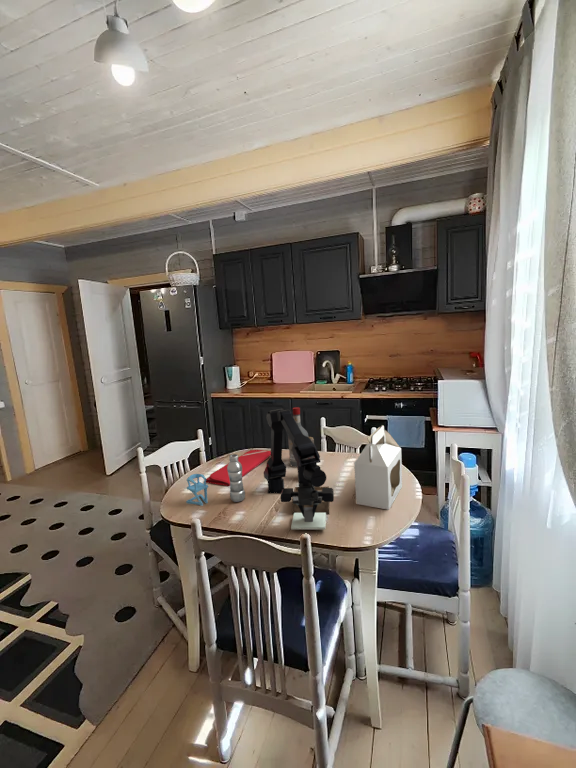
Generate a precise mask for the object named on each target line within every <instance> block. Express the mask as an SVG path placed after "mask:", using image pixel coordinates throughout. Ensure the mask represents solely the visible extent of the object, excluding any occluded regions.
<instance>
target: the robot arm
mask: <svg viewBox="0 0 576 768" xmlns="http://www.w3.org/2000/svg"><path fill="white" fill-rule="evenodd" d="M265 418H266V421H267V424H268V426H269V427H270V428H271V429H270V430H271V431H270V451H271V455H270V456H269V457H268V459H267V460H266V465H265V468H264V471H263V477H264V479H265V480H266V481H267V488H268V489H267V494H280V502H281V503H290V502H292V497H293V503H294V504H297V505H298V507H299V508H300V510H301V512H302V515H303V517H304V505H309V506H310V505H312V504H313V517H314V515H315V511H316V508H317V505H318V504H321V503H322V500H323V501H324V502H331V503H333V502H334V488H333V487H329V488H322V491H318V490H315V487H323V486H324V484H326V482H327V475H326V472H325V471H324V470H323V469H321V466H320V465H318V463H321V458H320V457H321V455H320V453H319V451H318V449H317V446H316V444H315V442H314V443H313V442H312V441H311V440H310V438H309V437H310V436H308V437H307V436H305V435H303V433H302V432H301V430H300V428H299V426H298V425H297V423H296V421H295V420H294V417H293V411H292V410H291V409H286V408H285V409H284V408H279V409H273V410H269V411H267V412H266V417H265ZM284 430H285V431H286V432H285V433H286V434H287V437H288V436H289V437H290V439H291V441H292V443H293V446H292V451H293V455H294V457H295V460H296V462H297V467H296V468H297V479H298V486H297V487H298V492H294V487H293V488H292V487H291V488H289V487H287V488H286V487H285V480H284V479H285V477H287V476H286V475H287V466H286V464H285V462H284V460H283V459H282V458H283V435H284ZM313 456H314V457H315V458H311V459H307V458H310V457H313Z"/></svg>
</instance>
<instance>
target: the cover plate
mask: <svg viewBox="0 0 576 768" xmlns="http://www.w3.org/2000/svg"><path fill="white" fill-rule="evenodd" d="M326 522H327V514H326V513H315V515H314V517H313V507H305V508H304V517H303V515H302V513H294V514H293V517H292V521H291V526H290V530H326V525H327V524H326Z"/></svg>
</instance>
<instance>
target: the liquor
mask: <svg viewBox="0 0 576 768" xmlns="http://www.w3.org/2000/svg"><path fill="white" fill-rule="evenodd" d="M292 416H293V418H294V420H295V421H296V423H297V425H298V426H299V428H300V430H301V432H302V433H303V435H305V436H307V437H309V433H308V431H307V430H306V428H304V427H303V426H302V423H301V407H299V406H298V407H297V406H295V407H293V408H292ZM287 439H288V453H289V464H290V466H291V467H294V468H297V462H296V460H295V457H294V455H293V451H292V446H293V443H292V441H291V439H290V437H289V436H288V435H287Z"/></svg>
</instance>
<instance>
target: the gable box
mask: <svg viewBox="0 0 576 768" xmlns="http://www.w3.org/2000/svg"><path fill="white" fill-rule="evenodd" d="M367 441H368V443H367V444H366V445H365V446H364V448H363V449H362V451H361V452H360V453H359V455H358V457H357V459H356V460H355V461H354V462H353V464H354V466H353V467H354V484H355V503H356V505H361V506H365V507H371V508H378V509H383V510H391V507H392V506H393V504H394V502H395V500H396V498H397V496H398V494H399V493H400V491H401V489H402V487H403V470H402V468H403V464H402V463H403V462H402V461H403V460H402V448H401V446H400V445H399V444H398V443H397V441H396V440H395V439H394V438H393V436H392V434H391V433H390V432H388V430H386V429H385V426H384V425H383V424H381V426H379V427H378V428H377V429H375V431H373V433H371V434H370V435H369V436H368V437H367Z"/></svg>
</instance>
